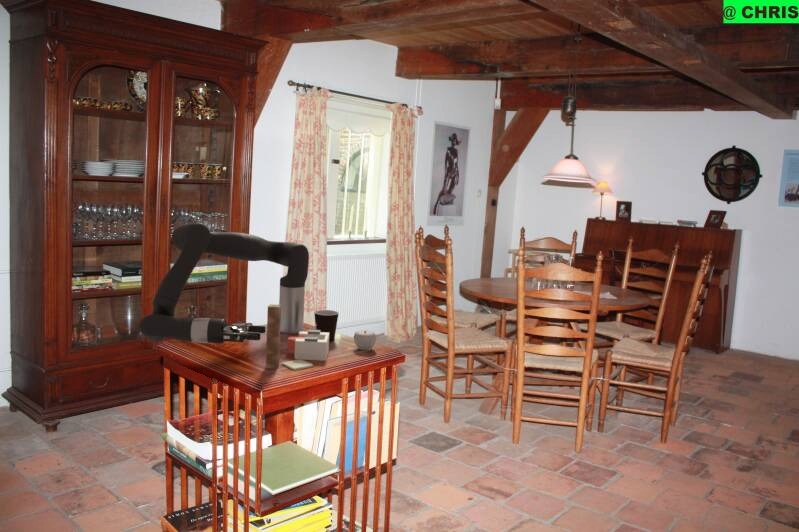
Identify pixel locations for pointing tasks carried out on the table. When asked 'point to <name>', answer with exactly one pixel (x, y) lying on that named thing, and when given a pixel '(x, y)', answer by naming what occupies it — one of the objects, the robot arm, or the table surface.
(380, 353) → the table surface
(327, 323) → the coffee mug
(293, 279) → the robot arm
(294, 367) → the coaster
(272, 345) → the walnut stick
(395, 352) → the table surface
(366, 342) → the lidded sugar bowl
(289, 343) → the plunger
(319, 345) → the box
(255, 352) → the table surface
